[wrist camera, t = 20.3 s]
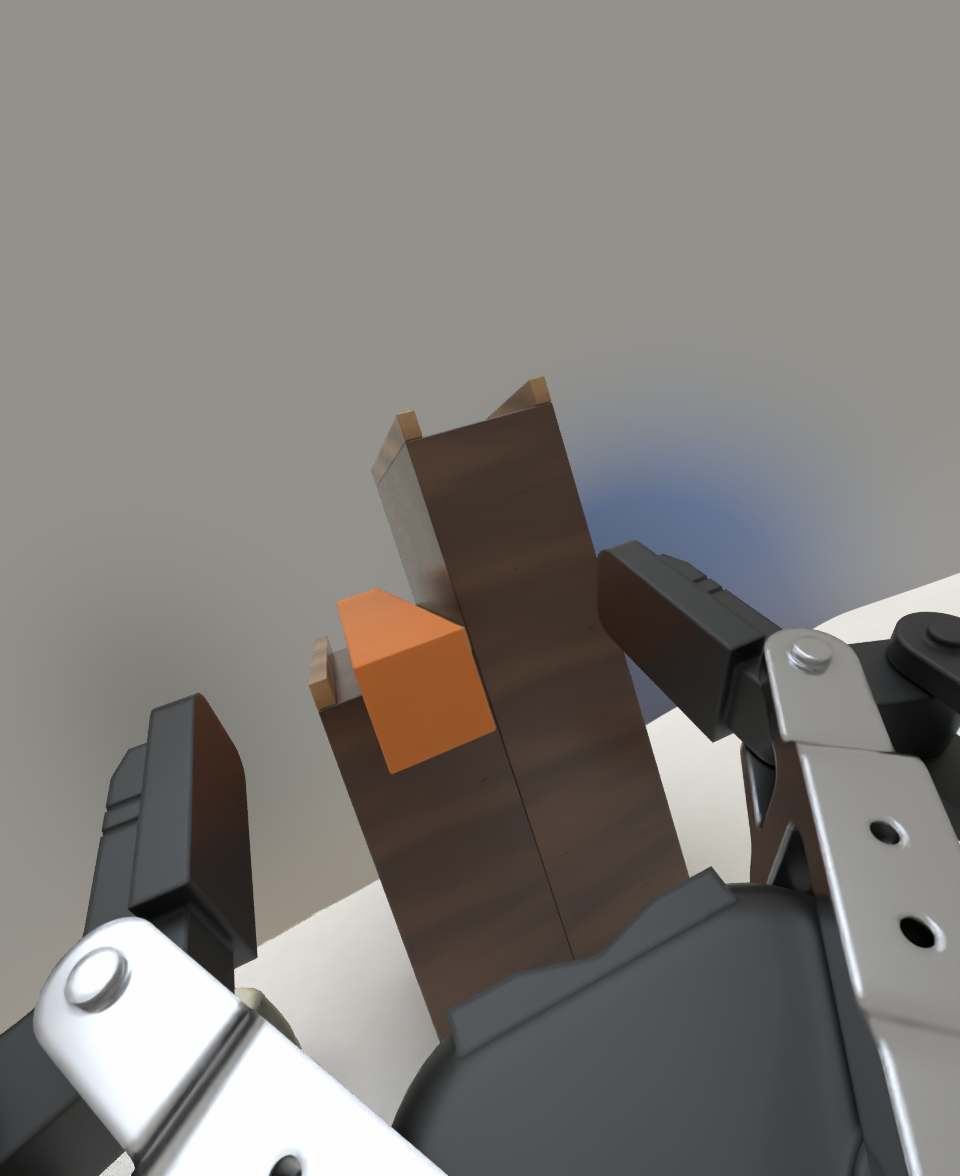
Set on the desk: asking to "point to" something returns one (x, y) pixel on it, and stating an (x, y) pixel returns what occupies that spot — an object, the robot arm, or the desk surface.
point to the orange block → (413, 678)
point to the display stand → (505, 719)
